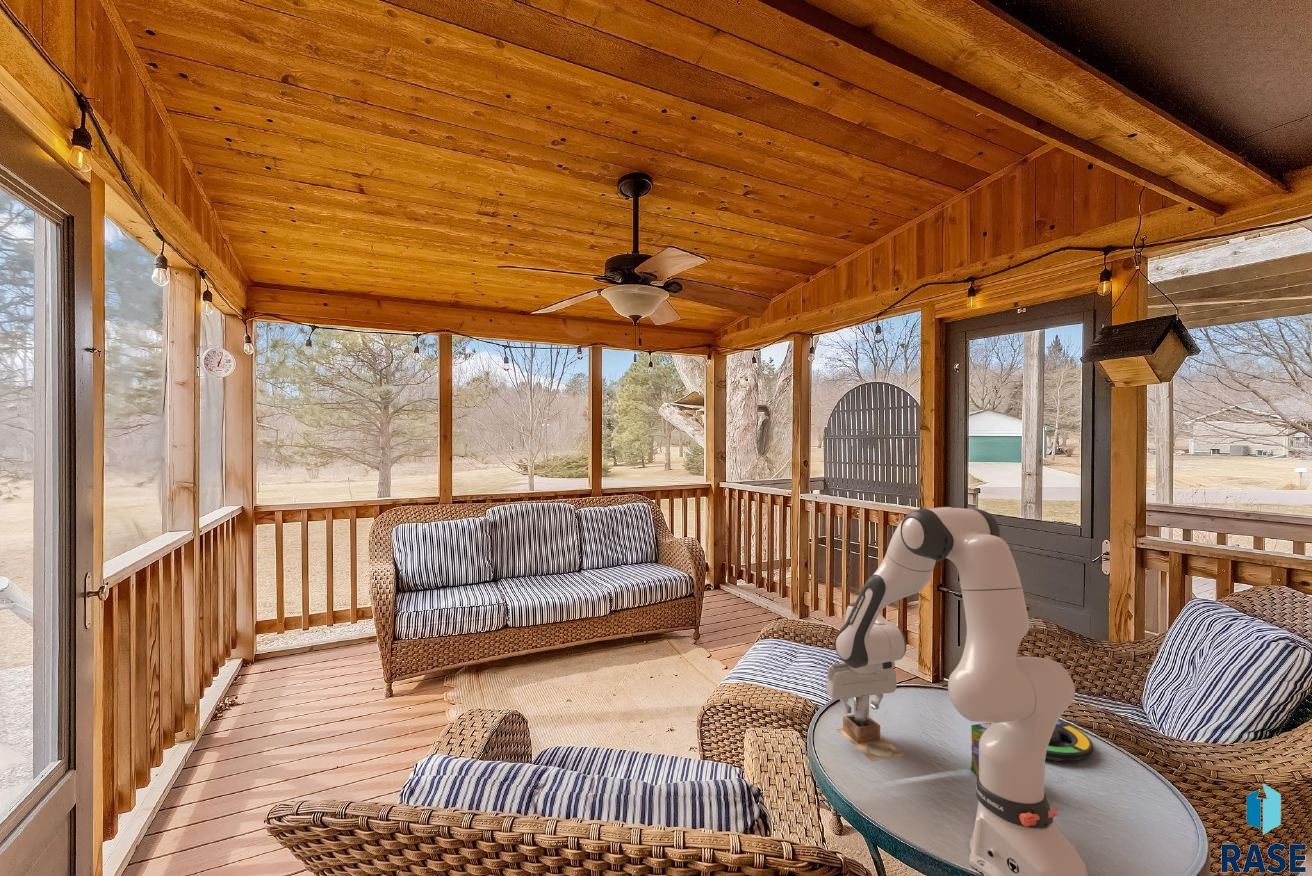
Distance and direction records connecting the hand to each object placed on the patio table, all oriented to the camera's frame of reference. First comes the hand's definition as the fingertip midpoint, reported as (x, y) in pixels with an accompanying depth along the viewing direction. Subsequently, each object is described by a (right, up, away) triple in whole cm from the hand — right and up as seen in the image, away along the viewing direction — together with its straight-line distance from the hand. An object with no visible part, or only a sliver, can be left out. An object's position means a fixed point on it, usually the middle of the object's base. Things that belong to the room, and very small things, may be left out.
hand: (861, 710), depth 157 cm
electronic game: (+49, -8, -2) cm, 50 cm away
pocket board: (+1, -8, -4) cm, 9 cm away
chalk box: (+27, -8, -18) cm, 34 cm away
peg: (0, -7, 0) cm, 7 cm away
